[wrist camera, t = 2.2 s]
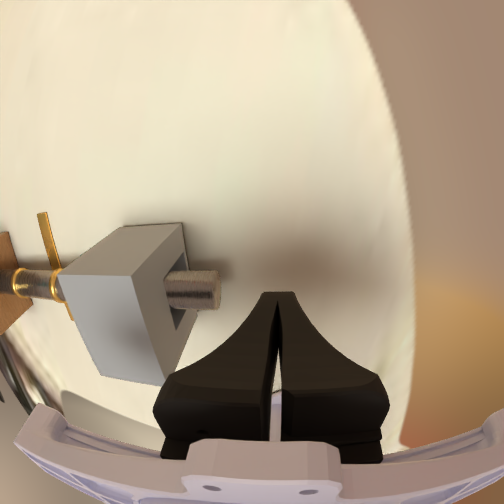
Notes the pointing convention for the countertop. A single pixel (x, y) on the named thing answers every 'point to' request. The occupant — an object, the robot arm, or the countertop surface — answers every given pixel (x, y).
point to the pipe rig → (48, 287)
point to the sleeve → (130, 302)
